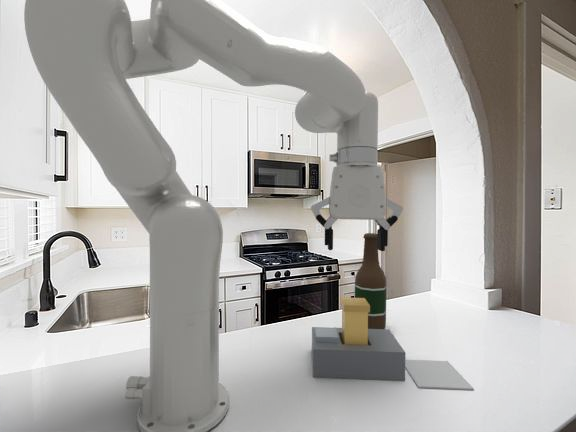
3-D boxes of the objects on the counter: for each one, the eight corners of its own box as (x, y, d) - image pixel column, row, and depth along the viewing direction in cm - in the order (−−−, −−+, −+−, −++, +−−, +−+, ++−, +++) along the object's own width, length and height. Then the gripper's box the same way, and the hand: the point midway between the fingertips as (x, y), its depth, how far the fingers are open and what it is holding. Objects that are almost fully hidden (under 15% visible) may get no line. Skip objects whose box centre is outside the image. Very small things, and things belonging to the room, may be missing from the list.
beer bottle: (382, 323, 78) (383, 232, 78) (389, 335, 70) (390, 234, 70) (352, 322, 79) (353, 232, 78) (356, 334, 71) (357, 234, 71)
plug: (342, 370, 55) (343, 305, 54) (339, 357, 59) (340, 297, 59) (369, 371, 54) (370, 305, 54) (364, 358, 59) (364, 298, 59)
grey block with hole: (313, 377, 52) (313, 343, 52) (311, 350, 62) (311, 322, 62) (405, 380, 51) (405, 346, 51) (388, 353, 61) (389, 324, 61)
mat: (418, 388, 49) (418, 386, 49) (400, 360, 58) (400, 359, 58) (473, 390, 49) (473, 388, 49) (447, 362, 58) (447, 360, 58)
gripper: (312, 156, 53) (310, 251, 53) (409, 157, 52) (408, 253, 52) (311, 163, 61) (309, 246, 61) (396, 164, 60) (395, 248, 60)
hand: (355, 249), depth 57 cm, fingers open, 9 cm apart
